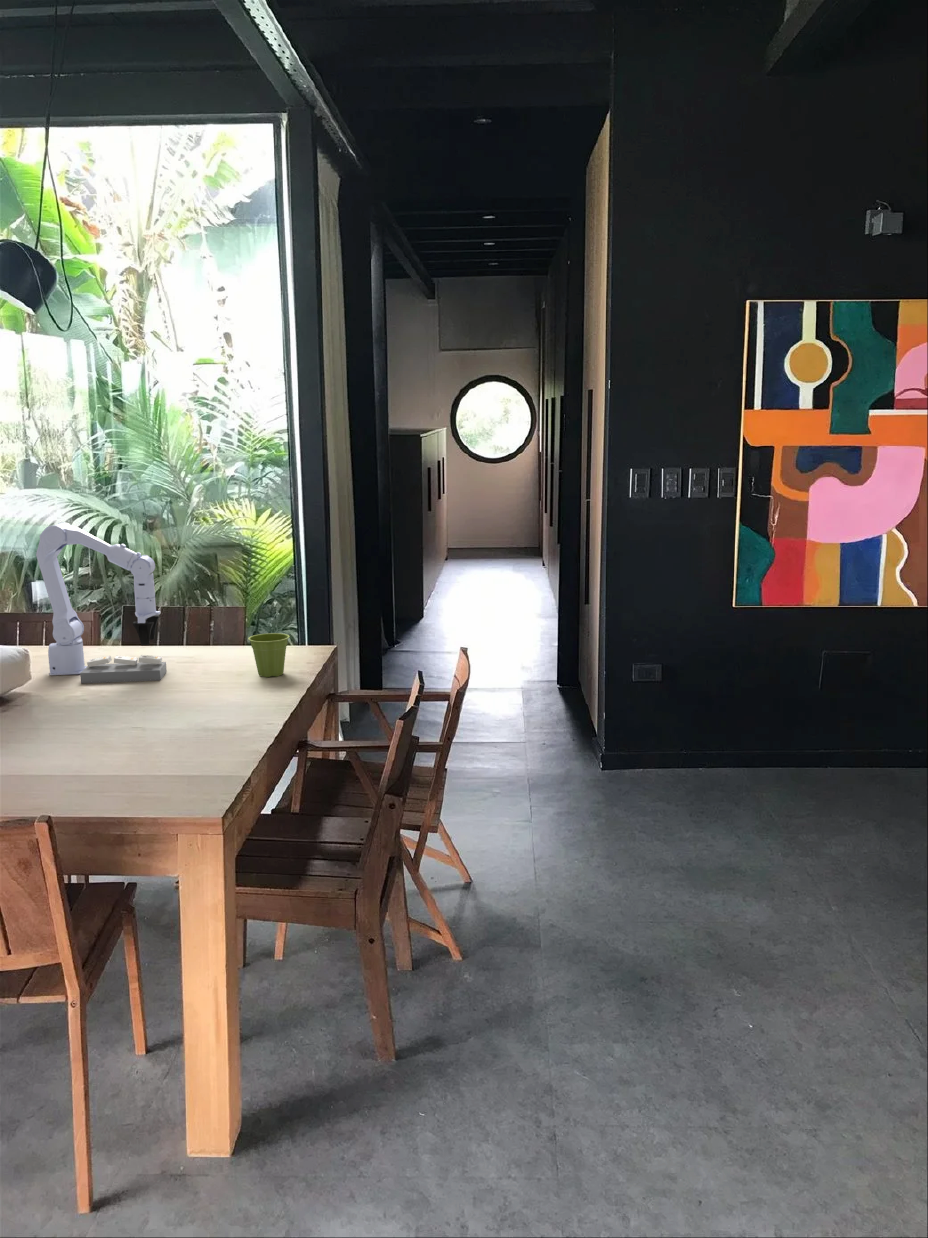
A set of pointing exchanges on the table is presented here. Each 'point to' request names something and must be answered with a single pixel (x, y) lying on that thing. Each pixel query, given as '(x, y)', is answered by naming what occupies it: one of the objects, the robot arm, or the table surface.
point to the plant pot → (269, 653)
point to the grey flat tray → (123, 672)
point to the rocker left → (99, 661)
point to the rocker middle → (126, 660)
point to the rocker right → (150, 659)
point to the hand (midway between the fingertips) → (147, 642)
